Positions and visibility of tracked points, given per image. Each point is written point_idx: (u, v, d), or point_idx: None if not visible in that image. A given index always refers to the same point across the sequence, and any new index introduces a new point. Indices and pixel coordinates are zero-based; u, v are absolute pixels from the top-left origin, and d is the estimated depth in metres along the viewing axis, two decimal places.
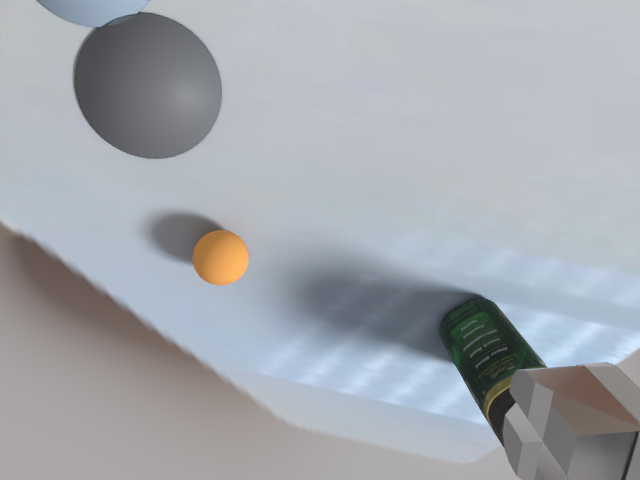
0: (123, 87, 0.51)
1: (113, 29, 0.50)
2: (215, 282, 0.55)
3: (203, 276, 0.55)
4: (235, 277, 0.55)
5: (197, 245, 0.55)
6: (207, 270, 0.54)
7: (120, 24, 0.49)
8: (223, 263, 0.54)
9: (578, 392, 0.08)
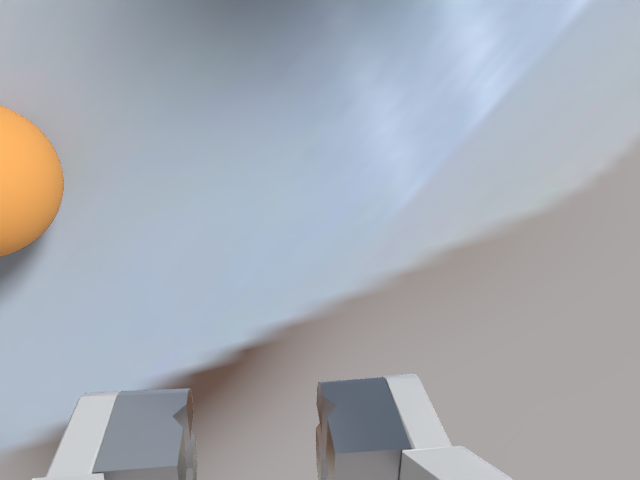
0: None
1: None
2: (3, 229, 0.18)
3: None
4: (3, 170, 0.18)
5: None
6: None
7: None
8: None
9: (362, 406, 0.08)
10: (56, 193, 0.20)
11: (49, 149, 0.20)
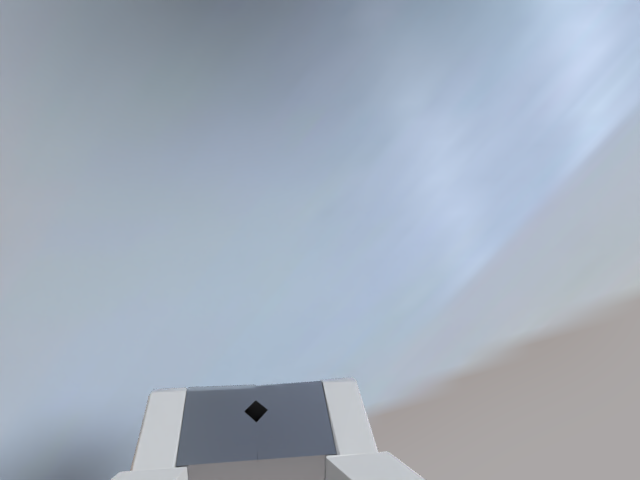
0: None
1: None
2: None
3: None
4: None
5: None
6: None
7: None
8: None
9: (294, 411, 0.07)
10: None
11: None
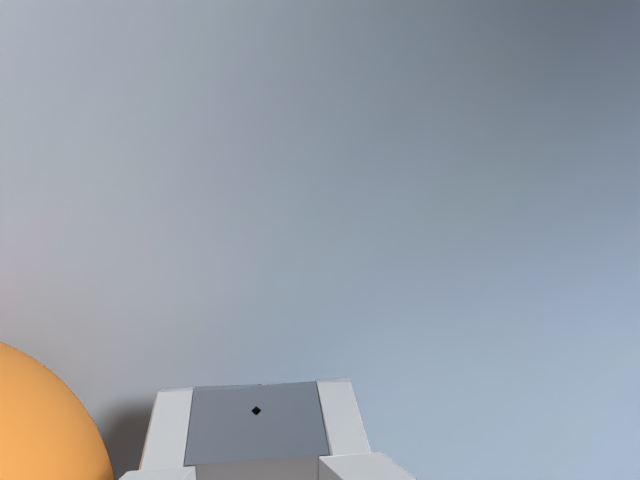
0: None
1: None
2: None
3: None
4: None
5: None
6: None
7: None
8: None
9: (287, 411, 0.07)
10: None
11: (83, 469, 0.07)
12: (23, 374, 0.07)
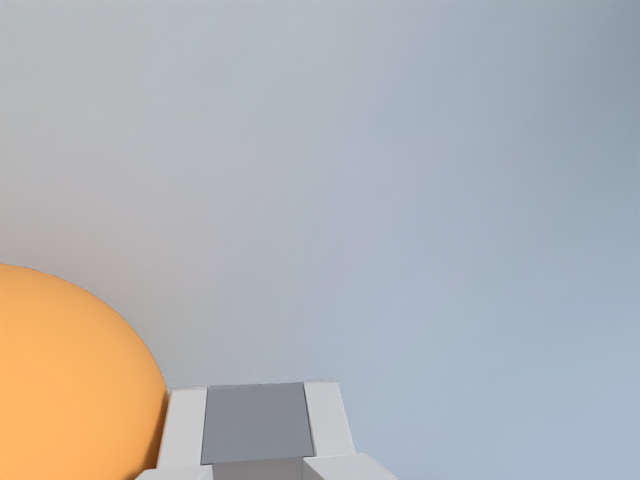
0: None
1: None
2: None
3: None
4: None
5: None
6: None
7: None
8: None
9: (273, 412, 0.07)
10: None
11: None
12: (90, 379, 0.07)
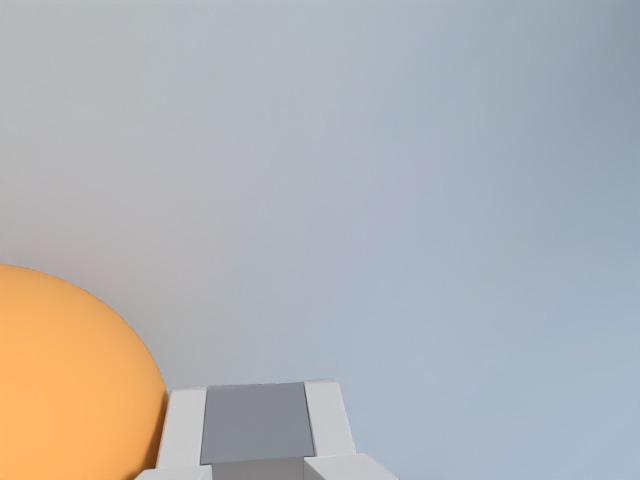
0: None
1: None
2: None
3: None
4: None
5: None
6: None
7: None
8: None
9: (273, 412, 0.07)
10: None
11: None
12: (89, 379, 0.07)
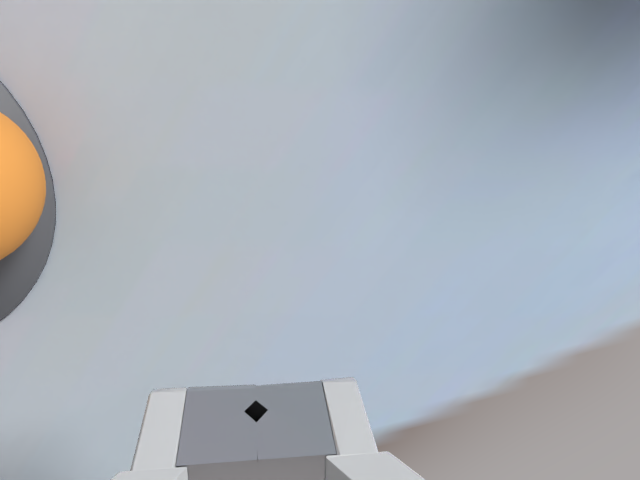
0: None
1: None
2: None
3: None
4: None
5: (21, 243, 0.18)
6: None
7: None
8: None
9: (294, 411, 0.07)
10: None
11: None
12: None
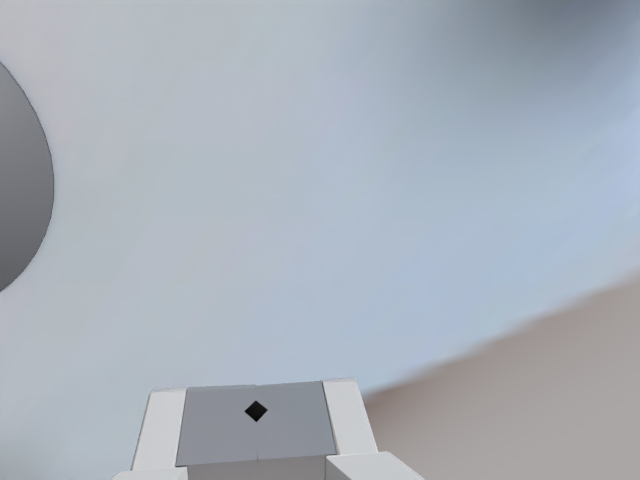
0: None
1: None
2: None
3: None
4: None
5: None
6: None
7: None
8: None
9: (293, 411, 0.07)
10: None
11: None
12: None
